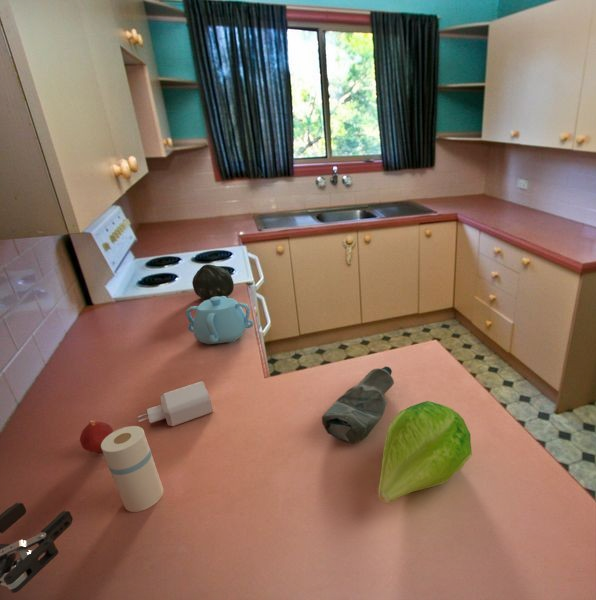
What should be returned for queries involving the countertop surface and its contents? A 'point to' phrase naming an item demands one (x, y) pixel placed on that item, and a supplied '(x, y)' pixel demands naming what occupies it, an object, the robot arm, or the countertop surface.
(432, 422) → the lettuce
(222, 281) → the squash
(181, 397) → the charger
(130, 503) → the paper towel roll
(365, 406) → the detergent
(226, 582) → the countertop surface
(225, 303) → the decorative pot
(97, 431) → the onion
